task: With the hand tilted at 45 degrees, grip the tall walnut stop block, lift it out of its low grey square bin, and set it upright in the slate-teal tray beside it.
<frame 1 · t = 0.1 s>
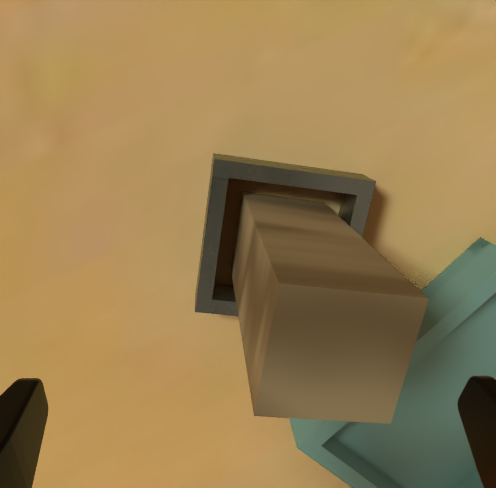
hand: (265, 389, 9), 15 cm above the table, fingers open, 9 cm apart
walnut stop: (276, 236, 25), resting in grey square bin
grey square bin: (276, 236, 25), on the table
tray: (446, 390, 29), on the table
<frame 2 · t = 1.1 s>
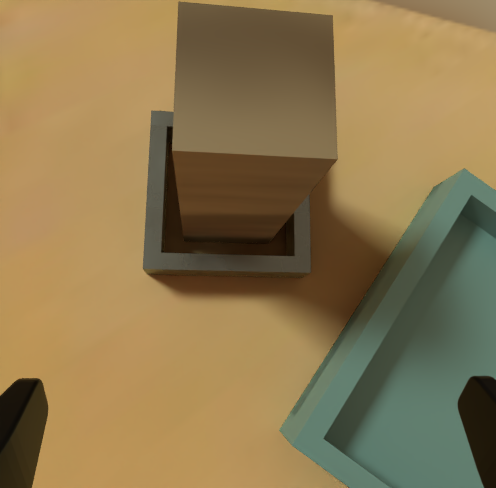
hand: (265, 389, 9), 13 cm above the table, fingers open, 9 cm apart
walnut stop: (227, 202, 24), resting in grey square bin
grey square bin: (227, 201, 24), on the table
tray: (468, 376, 24), on the table
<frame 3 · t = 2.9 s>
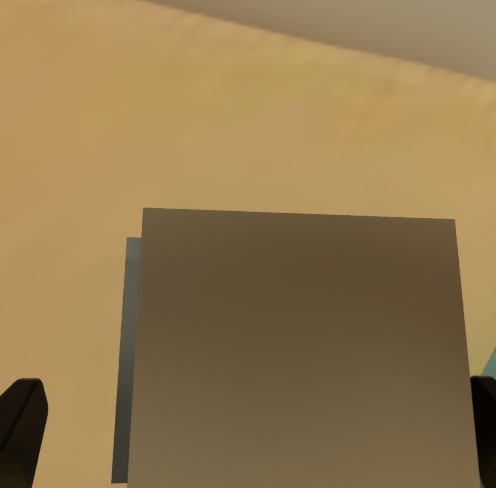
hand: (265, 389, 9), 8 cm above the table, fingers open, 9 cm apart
walnut stop: (233, 351, 17), resting in grey square bin
grey square bin: (233, 351, 17), on the table
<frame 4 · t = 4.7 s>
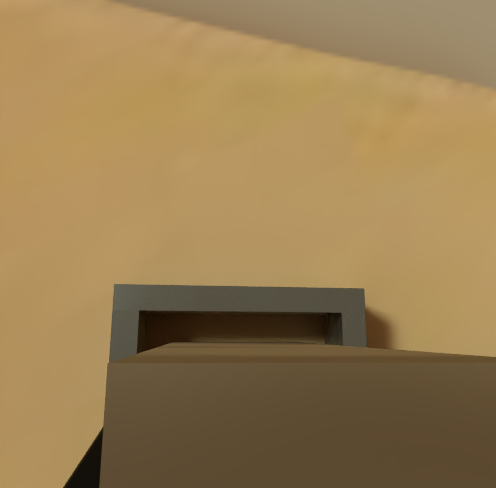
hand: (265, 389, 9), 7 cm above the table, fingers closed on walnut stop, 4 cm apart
walnut stop: (236, 408, 15), resting in grey square bin, touching gripper
grey square bin: (236, 408, 15), on the table
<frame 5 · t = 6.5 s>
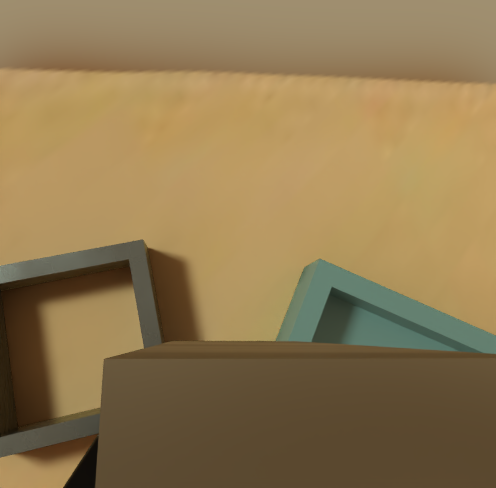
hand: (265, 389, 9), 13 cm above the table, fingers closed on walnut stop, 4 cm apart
walnut stop: (235, 407, 15), point 7 cm above the table, touching gripper
grey square bin: (78, 342, 22), on the table
tray: (374, 467, 22), on the table
when the fingers open (9 cm above the table, at t = 8.6 s): walnut stop drops 1 cm, resting on tray.
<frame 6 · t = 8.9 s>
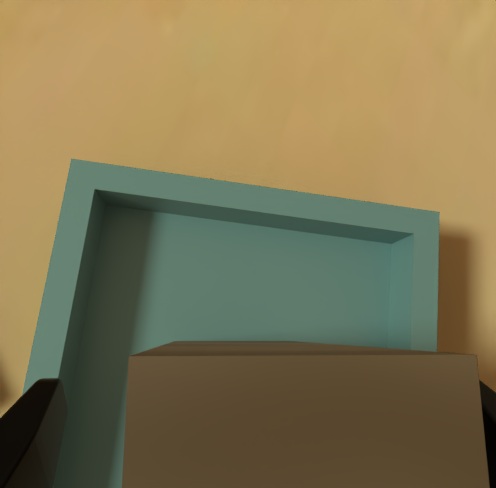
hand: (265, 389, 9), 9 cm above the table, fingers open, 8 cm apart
walnut stop: (232, 401, 17), point 1 cm above the table, touching tray
tray: (231, 398, 18), on the table
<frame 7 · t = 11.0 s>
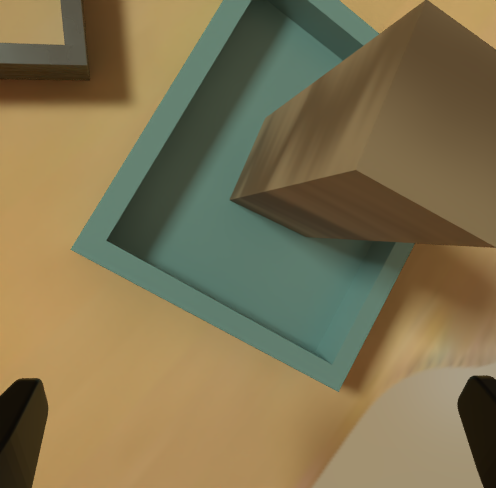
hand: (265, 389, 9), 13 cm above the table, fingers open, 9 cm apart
walnut stop: (286, 178, 22), point 1 cm above the table, touching tray
tray: (279, 181, 23), on the table
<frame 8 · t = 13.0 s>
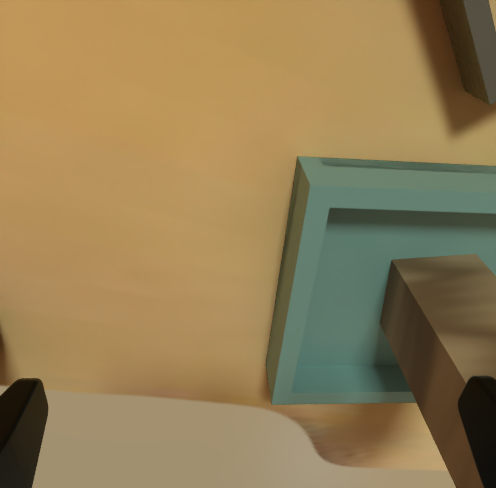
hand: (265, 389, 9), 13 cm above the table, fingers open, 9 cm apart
walnut stop: (425, 290, 24), point 1 cm above the table, touching tray
tray: (417, 279, 25), on the table
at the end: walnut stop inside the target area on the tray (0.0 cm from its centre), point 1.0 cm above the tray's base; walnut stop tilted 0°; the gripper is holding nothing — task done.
